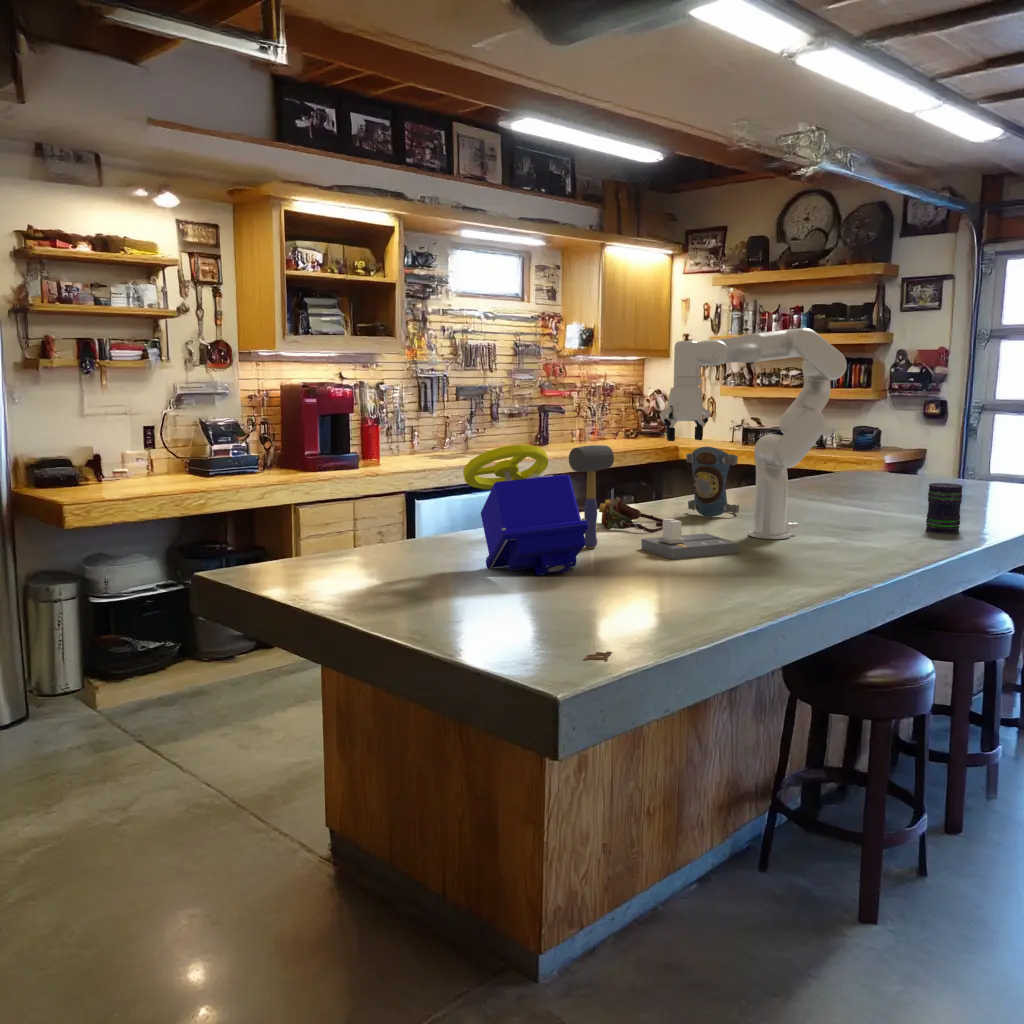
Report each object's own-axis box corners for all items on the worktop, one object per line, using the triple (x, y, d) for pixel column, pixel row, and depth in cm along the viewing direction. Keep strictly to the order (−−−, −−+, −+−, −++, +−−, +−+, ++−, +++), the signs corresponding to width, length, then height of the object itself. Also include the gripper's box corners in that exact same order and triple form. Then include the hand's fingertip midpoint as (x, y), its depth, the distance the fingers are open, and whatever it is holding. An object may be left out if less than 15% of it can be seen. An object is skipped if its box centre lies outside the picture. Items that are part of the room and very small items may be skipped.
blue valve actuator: (601, 549, 215) (573, 438, 225) (494, 563, 208) (470, 448, 218) (572, 582, 238) (547, 480, 248) (475, 596, 231) (454, 490, 241)
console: (705, 543, 267) (705, 533, 267) (738, 553, 253) (738, 542, 252) (641, 548, 259) (641, 538, 259) (671, 559, 244) (671, 548, 244)
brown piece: (605, 626, 183) (605, 623, 183) (627, 628, 181) (627, 625, 181) (581, 662, 160) (581, 658, 160) (606, 664, 159) (606, 661, 159)
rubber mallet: (582, 552, 254) (583, 447, 249) (565, 548, 260) (566, 445, 255) (614, 547, 261) (616, 445, 257) (597, 543, 267) (598, 443, 263)
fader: (673, 538, 257) (673, 517, 256) (684, 542, 251) (685, 521, 250) (658, 540, 255) (658, 519, 254) (669, 543, 249) (670, 522, 249)
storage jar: (955, 535, 279) (959, 487, 277) (922, 531, 285) (925, 485, 283) (962, 530, 287) (966, 484, 285) (929, 527, 293) (932, 482, 290)
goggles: (675, 533, 284) (675, 502, 283) (601, 534, 284) (601, 503, 283) (663, 523, 308) (663, 494, 307) (595, 524, 308) (594, 495, 307)
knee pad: (676, 516, 317) (678, 445, 313) (699, 509, 333) (701, 442, 329) (725, 520, 307) (728, 448, 303) (746, 513, 323) (749, 444, 319)
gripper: (703, 382, 273) (701, 438, 275) (654, 383, 266) (653, 440, 269) (718, 382, 266) (716, 440, 269) (668, 383, 259) (666, 442, 262)
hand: (684, 440), depth 269 cm, fingers open, 9 cm apart
